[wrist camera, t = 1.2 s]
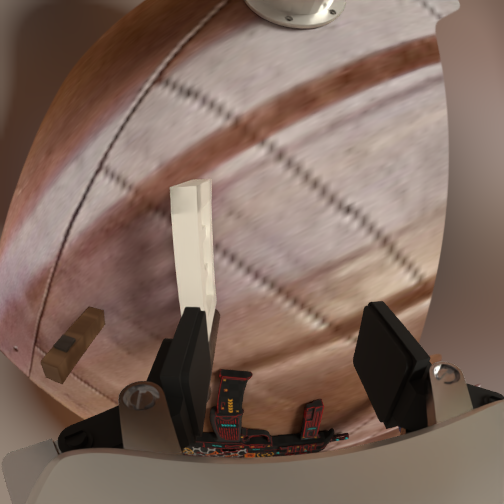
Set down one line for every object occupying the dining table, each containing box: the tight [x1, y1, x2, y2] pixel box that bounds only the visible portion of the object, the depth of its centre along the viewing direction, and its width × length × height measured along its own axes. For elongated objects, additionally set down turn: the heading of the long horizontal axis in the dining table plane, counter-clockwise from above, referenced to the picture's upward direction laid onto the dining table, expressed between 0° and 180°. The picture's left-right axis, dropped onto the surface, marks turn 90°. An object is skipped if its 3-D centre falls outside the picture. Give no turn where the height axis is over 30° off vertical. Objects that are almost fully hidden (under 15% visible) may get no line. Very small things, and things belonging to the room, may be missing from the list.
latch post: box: [41, 307, 105, 384], centre depth 28 cm, size 3×2×13 cm
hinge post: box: [207, 309, 220, 401], centre depth 28 cm, size 3×3×15 cm
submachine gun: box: [182, 369, 349, 458], centre depth 40 cm, size 34×4×25 cm
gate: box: [170, 179, 216, 341], centre depth 26 cm, size 2×15×9 cm, turn 0°
